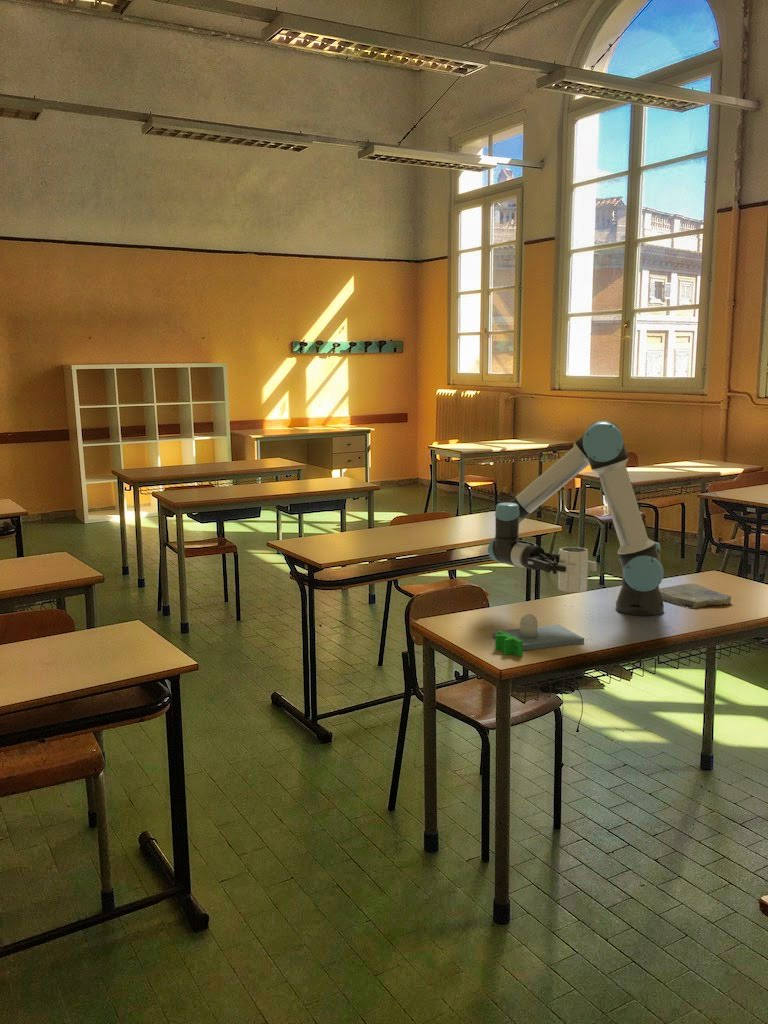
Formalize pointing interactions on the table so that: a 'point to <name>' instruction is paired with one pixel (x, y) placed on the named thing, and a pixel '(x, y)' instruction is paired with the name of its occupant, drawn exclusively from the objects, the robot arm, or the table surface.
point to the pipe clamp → (508, 644)
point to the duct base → (542, 634)
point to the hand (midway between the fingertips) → (585, 568)
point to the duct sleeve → (579, 559)
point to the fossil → (693, 596)
